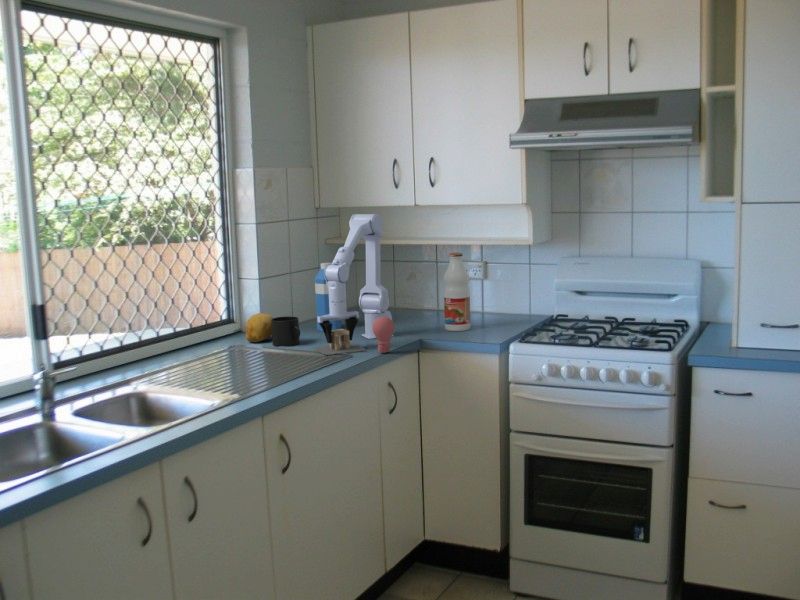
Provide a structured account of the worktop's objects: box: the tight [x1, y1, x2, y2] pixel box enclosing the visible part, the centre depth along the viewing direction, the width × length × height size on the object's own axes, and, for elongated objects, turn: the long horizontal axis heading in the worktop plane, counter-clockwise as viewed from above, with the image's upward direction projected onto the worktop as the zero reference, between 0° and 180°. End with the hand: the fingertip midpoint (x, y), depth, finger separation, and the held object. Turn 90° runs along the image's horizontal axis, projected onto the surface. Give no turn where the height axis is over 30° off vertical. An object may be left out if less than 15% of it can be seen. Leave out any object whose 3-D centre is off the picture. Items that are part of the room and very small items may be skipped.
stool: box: [329, 328, 351, 351], centre depth 284 cm, size 5×5×6 cm
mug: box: [271, 315, 301, 347], centre depth 295 cm, size 9×12×9 cm
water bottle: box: [314, 262, 342, 332], centre depth 321 cm, size 9×9×25 cm
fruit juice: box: [443, 252, 471, 332], centre depth 311 cm, size 9×9×28 cm
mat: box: [313, 342, 368, 356], centre depth 284 cm, size 14×14×1 cm
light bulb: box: [373, 317, 396, 354], centre depth 275 cm, size 7×7×12 cm
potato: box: [245, 312, 274, 343], centre depth 304 cm, size 10×12×10 cm
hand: (339, 341), depth 284 cm, fingers open, 7 cm apart
